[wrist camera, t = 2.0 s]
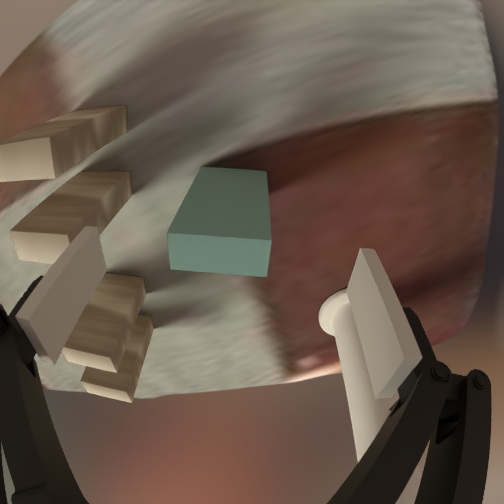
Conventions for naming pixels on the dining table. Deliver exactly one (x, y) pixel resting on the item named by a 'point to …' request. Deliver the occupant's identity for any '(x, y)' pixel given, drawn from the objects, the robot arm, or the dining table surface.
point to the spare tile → (223, 224)
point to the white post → (360, 382)
